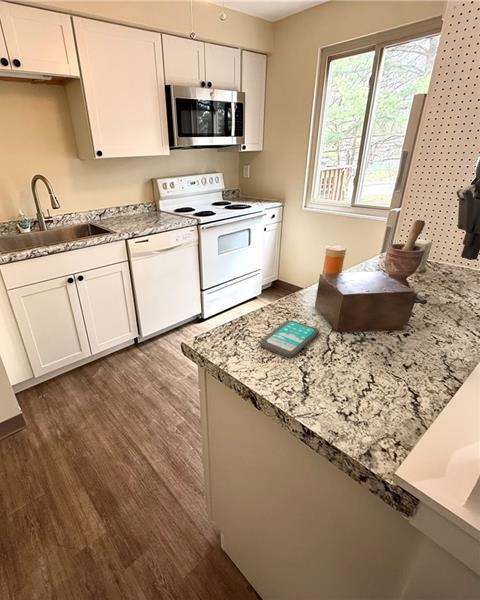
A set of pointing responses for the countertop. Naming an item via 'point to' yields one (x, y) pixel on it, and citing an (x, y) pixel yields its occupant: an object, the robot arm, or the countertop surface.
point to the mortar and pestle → (405, 256)
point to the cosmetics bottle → (427, 246)
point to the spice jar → (334, 259)
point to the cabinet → (363, 301)
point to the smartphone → (289, 338)
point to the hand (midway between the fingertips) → (468, 257)
